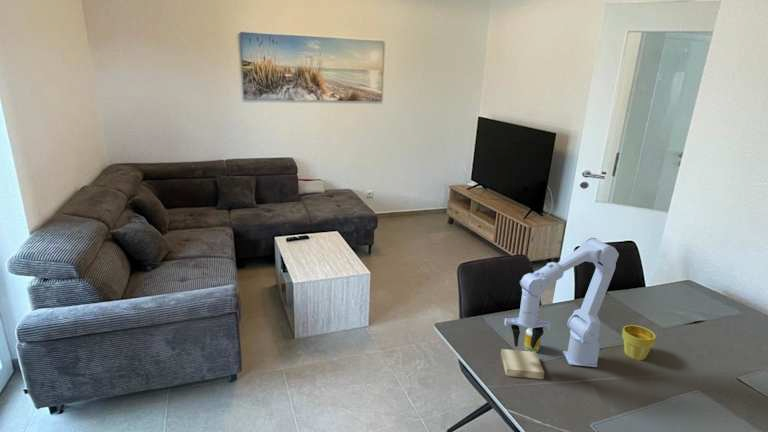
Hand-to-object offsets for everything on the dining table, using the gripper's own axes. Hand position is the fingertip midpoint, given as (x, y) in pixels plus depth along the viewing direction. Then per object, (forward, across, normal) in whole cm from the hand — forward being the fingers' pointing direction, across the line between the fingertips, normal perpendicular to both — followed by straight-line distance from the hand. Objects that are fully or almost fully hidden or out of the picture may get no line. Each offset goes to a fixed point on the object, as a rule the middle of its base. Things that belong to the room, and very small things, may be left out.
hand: (524, 345), depth 150 cm
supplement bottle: (+8, -6, -12) cm, 16 cm away
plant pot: (+8, -43, -13) cm, 46 cm away
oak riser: (+9, 0, 0) cm, 9 cm away
